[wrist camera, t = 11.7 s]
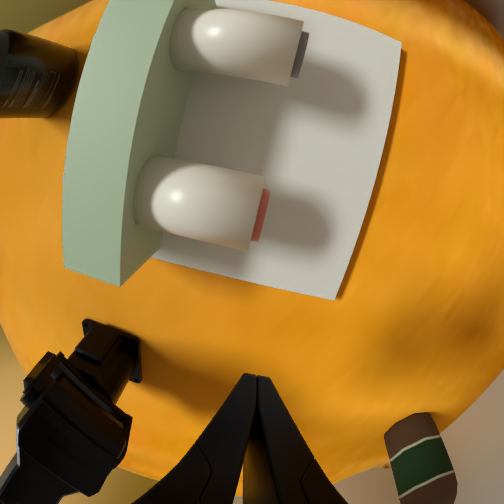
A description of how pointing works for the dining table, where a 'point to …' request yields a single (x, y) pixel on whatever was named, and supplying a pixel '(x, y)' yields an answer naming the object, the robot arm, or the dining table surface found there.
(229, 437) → the robot arm
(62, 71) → the supplement bottle
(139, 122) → the mount
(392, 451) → the beer bottle
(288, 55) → the knob
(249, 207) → the knob
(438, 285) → the dining table surface
